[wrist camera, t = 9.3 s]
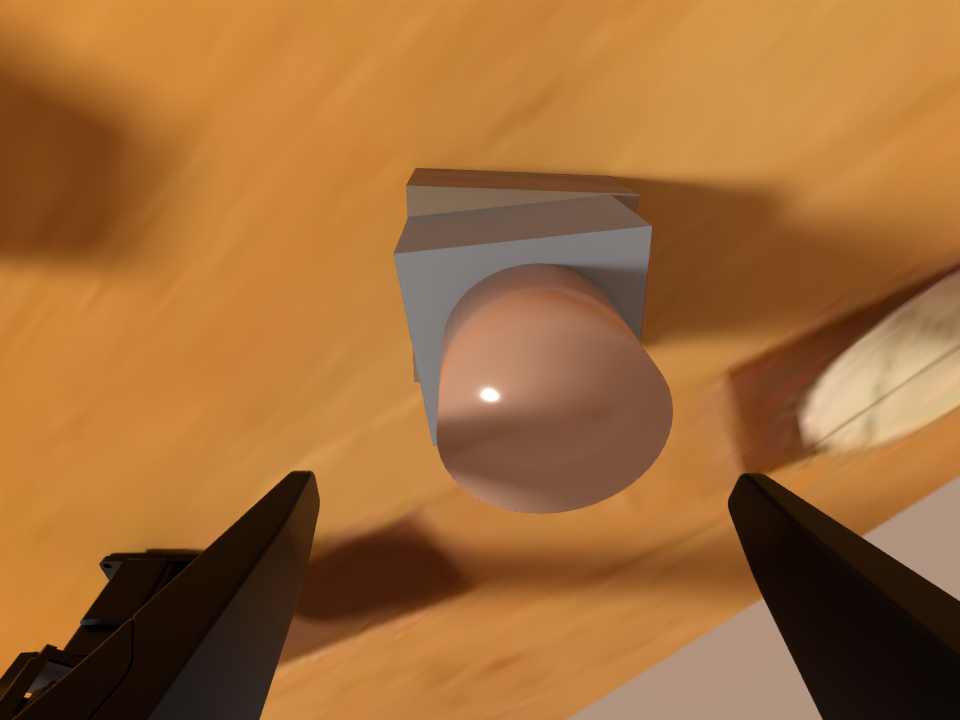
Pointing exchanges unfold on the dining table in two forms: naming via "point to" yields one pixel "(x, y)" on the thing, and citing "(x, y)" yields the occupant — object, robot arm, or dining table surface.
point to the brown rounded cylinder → (546, 393)
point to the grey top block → (514, 263)
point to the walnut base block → (502, 192)
